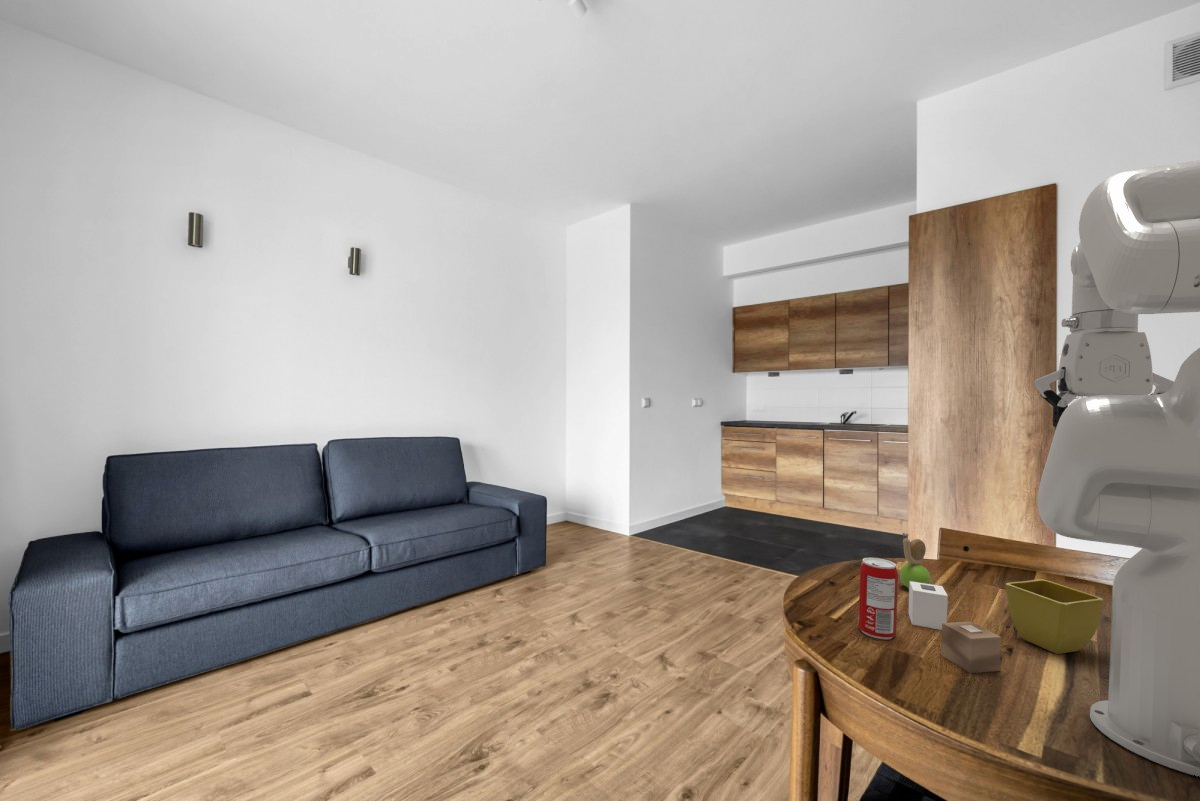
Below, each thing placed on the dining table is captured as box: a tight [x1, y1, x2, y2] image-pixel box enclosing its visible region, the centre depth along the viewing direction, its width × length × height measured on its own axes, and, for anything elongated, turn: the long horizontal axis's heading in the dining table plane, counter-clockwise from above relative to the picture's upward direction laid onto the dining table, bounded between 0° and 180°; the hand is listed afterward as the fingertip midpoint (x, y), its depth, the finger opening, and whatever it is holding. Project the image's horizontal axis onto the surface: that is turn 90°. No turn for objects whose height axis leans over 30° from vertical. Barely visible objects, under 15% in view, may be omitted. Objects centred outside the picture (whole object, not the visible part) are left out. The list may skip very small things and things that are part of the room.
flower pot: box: [1005, 578, 1104, 655], centre depth 81 cm, size 9×9×9 cm
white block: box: [908, 581, 949, 631], centre depth 89 cm, size 5×5×6 cm
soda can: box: [857, 557, 899, 641], centre depth 84 cm, size 6×6×12 cm
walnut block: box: [940, 621, 1002, 674], centre depth 75 cm, size 5×5×5 cm
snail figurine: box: [898, 532, 932, 589], centre depth 104 cm, size 5×6×12 cm
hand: (1100, 433), depth 80 cm, fingers open, 9 cm apart
